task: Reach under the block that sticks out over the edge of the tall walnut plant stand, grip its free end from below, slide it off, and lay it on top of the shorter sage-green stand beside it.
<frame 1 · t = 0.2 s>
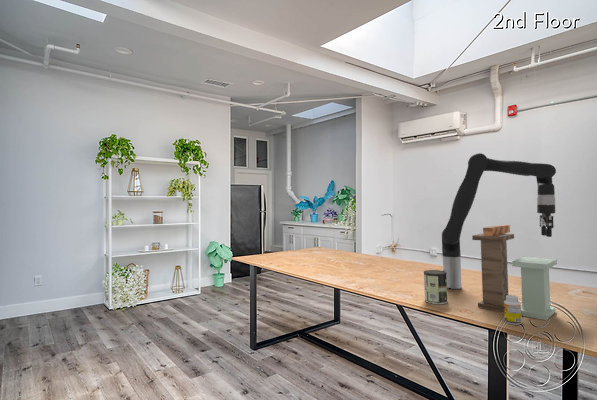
hand: (546, 236, 176), 29 cm above the table, tool pointing down, fingers open, 8 cm apart
supplement bottle: (512, 323, 134), on the table
block: (497, 233, 160), point 32 cm above the table, touching tall stand
low stand: (536, 313, 145), on the table
coffee can: (435, 301, 166), on the table
tall stand: (495, 306, 156), on the table
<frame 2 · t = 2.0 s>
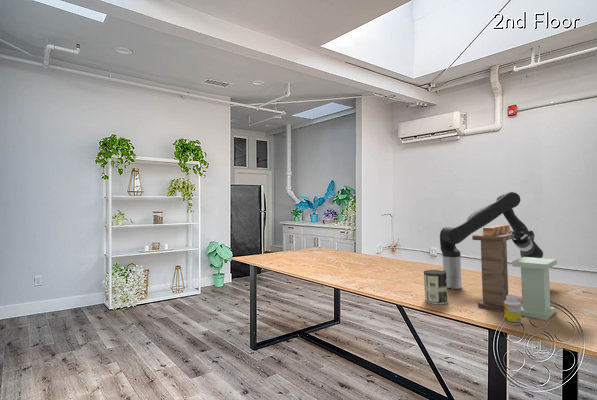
hand: (513, 228, 176), 33 cm above the table, tool pointing upward, fingers open, 8 cm apart
nothing on the table moved.
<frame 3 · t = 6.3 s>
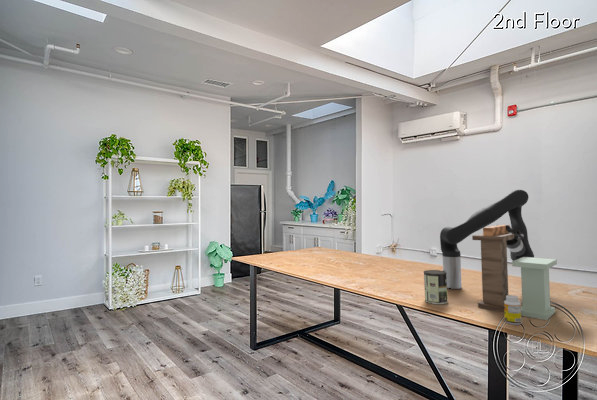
hand: (501, 226, 164), 35 cm above the table, tool pointing upward, fingers closed on block, 3 cm apart
block: (497, 233, 160), point 32 cm above the table, touching gripper, tall stand
everything else where it was.
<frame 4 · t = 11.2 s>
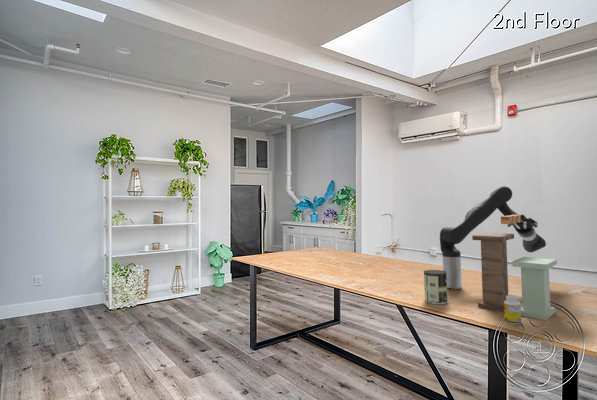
hand: (517, 216, 173), 39 cm above the table, tool pointing upward, fingers closed on block, 3 cm apart
block: (513, 222, 169), point 36 cm above the table, touching gripper
everything else where it was.
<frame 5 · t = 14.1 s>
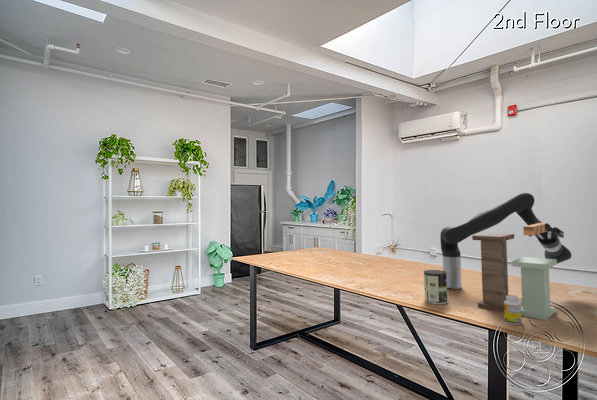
hand: (540, 225, 153), 36 cm above the table, tool pointing upward, fingers closed on block, 3 cm apart
block: (536, 232, 149), point 33 cm above the table, touching gripper
everything else where it was.
when the fingers open (26 cm above the table, at t = 16.5 s): block drops 1 cm, resting on low stand.
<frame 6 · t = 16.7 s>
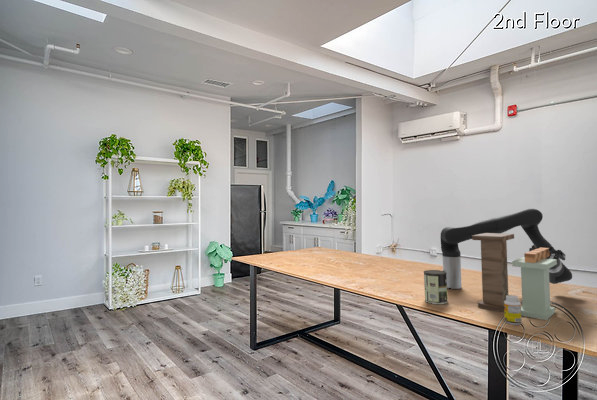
hand: (541, 247, 153), 26 cm above the table, tool pointing upward, fingers open, 5 cm apart
block: (537, 258, 148), point 22 cm above the table, touching low stand
everything else where it was.
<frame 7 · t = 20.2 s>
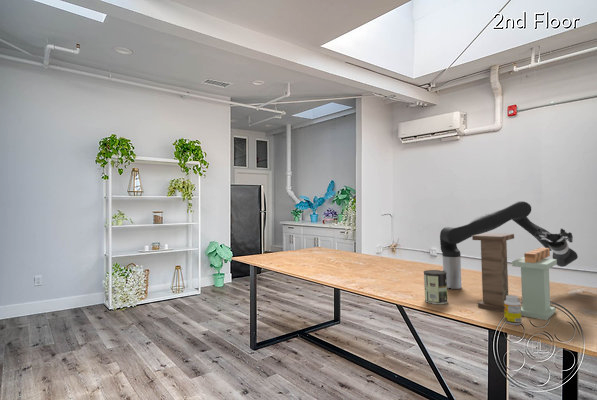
hand: (550, 230, 164), 33 cm above the table, tool pointing upward, fingers open, 8 cm apart
nothing on the table moved.
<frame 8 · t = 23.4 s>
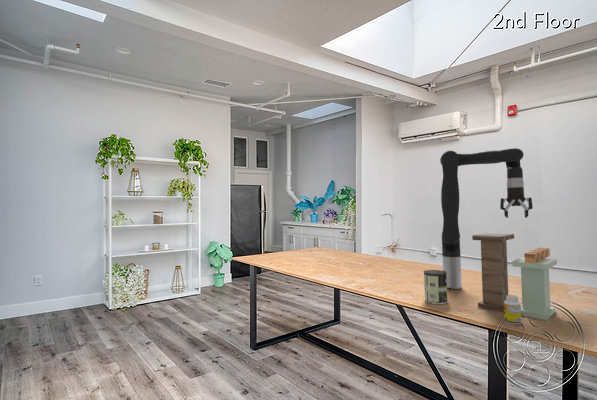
hand: (516, 217, 183), 38 cm above the table, tool pointing down, fingers open, 8 cm apart
nothing on the table moved.
at the end: block inside the target area on the low stand (0.2 cm from its centre), point 22.0 cm above the low stand's base; block tilted 0°; the gripper is holding nothing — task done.
